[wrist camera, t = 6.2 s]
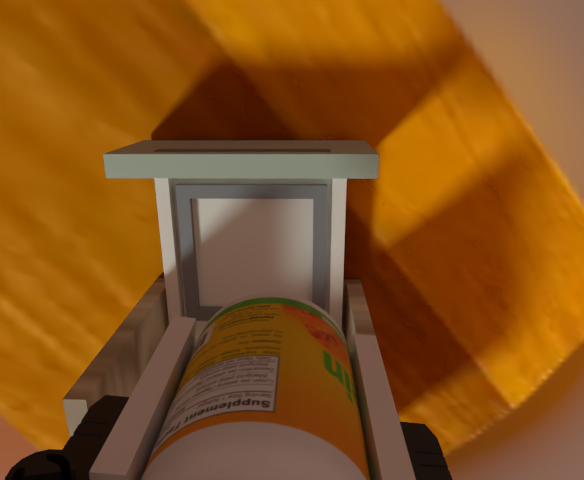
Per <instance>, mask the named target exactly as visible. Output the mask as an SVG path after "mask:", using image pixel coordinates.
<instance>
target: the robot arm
mask: <svg viewBox="0 0 584 480" xmlns="http://www.w3.org/2000/svg"><path fill="white" fill-rule="evenodd" d="M195 336H196V318H188V317H178V316H174V317H173V319H172V321H171V322H170V324H169V326H168V328H167V330H166V332H165V333H164V335H163V337H162V339H161V341H160V343H159V344H158V346H157V348H156V350H155V352H154V354H153V355H152V357H151V359H150V361H149V363H148V365H147V366H146V368H145V370H144V372H143V374H142V376H141V377H140V379H139V381H138V383H137V385H136V387H135V389H134V390H133V392H132V394H131V396H130V397H123V396H112V395H105V396H104V397H102V398H101V399H100V400H98V401H97V402H96V403H94V404H93V405H92V406H90V408H89V409H88V411H87V413H86V414H85V416H84V417H83V419H82V420H81V423H80V424H79V425H78V426H77V428H76V429H75V431H74V433H73V436H71V437H70V439H69V440H68V442H67V443H66V445H65V446H64V448H63V450H51V449H49V450H44V451H40V452H36V453H34V454H32V455H29V456H28V457H25V458H23V459H22V460H20V461H19V462H18V463H17V464H16V465H15V466H13V467H12V468H11V470H10V471H9V473H8V475H7V476H6V477H5V480H141V478H142V475H143V473H144V470H145V468H146V466H147V464H148V461H149V459H150V456H151V454H152V451H153V449H154V446H155V444H156V441H157V439H158V436H159V434H160V431H161V429H162V426H163V424H164V422H165V419H166V416H167V414H168V411H169V408H170V406H171V404H172V402H173V399H174V397H175V395H176V392H177V390H178V387H179V385H180V382H181V380H182V377H183V375H184V372H185V370H186V368H187V365H188V362H189V360H190V358H191V355H192V352H193V350H194V348H195ZM350 357H351V363H352V369H353V375H354V381H355V387H356V393H357V399H358V405H359V411H360V417H361V423H362V430H363V436H364V441H365V447H366V453H367V458H368V464H369V470H370V476H371V480H452V477H451V475H450V472H449V470H448V467H447V464H446V461H445V458H444V457H443V453H442V450H441V447H440V445H439V442H438V439H437V438H436V436H435V435H434V434H433V433H432V432H431V431H430V430H429V428H428V427H427V426H426V425H425V424H418V423H408V422H400V421H399V418H398V414H397V410H396V407H395V403H394V400H393V396H392V392H391V389H390V385H389V382H388V378H387V374H386V371H385V367H384V364H383V360H382V357H381V353H380V349H379V346H378V342H377V339H376V336H373V335H363V334H354V335H353V341H352V347H351V354H350Z"/></svg>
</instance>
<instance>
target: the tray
mask: <svg viewBox="0 0 584 480" xmlns="http://www.w3.org/2000/svg"><path fill="white" fill-rule="evenodd" d="M103 159H104V166H105V174H106V178H154V179H155V189H156V199H157V209H158V219H159V229H160V238H161V248H162V258H163V268H164V278H165V288H166V298H167V308H168V317H169V324H170V322H171V321H172V319H173V317H174V316H178V317H188V318H196V336H195V345H196V343H197V341H198V339H199V337H200V335H201V333H202V331H203V329H204V327H205V326H206V324H207V323H208V322H209V320H210V319H211V318H212V317H213V316H214V315H215V314H216V313H217V312H218V311H219V310H220V309H222V308H223V307H224V306H226V305H227V304H229V303H231V302H232V301H234V300H237V299H239V298H241V297H244V296H247V295H252V294H257V293H265V292H279V293H287V294H291V295H295V296H298V297H301V298H304V299H306V300H308V301H310V302H312V303H314V304H316V305H317V306H319V307H320V308H322V309H323V310H324V311H325V312H327V313H328V314H329V315H330V316H331V317H332V318H333V319H334V321H335V322H336V323H337V325H338V326H339V328H340V329H341V331H342V304H343V275H344V245H345V216H346V187H347V179H378V164H379V154H378V153H377V152H376V151H375V150H374V149H373V148H372V147H371V146H370V145H369V144H368V143H367V142H366V141H365V140H143V141H140V142H137V143H134V144H131V145H128V146H126V147H123V148H120V149H117V150H114V151H111V152H108V153H105V154H103Z"/></svg>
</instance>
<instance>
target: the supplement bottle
mask: <svg viewBox="0 0 584 480" xmlns="http://www.w3.org/2000/svg"><path fill="white" fill-rule="evenodd" d="M141 480H371V476H370V470H369V464H368V458H367V453H366V447H365V441H364V436H363V430H362V423H361V417H360V411H359V405H358V399H357V393H356V387H355V381H354V375H353V369H352V363H351V357H350V353H349V348H348V345H347V342H346V339H345V336H344V334H343V332H342V331H341V329H340V328H339V326H338V325H337V323H336V322H335V321H334V319H333V318H332V317H331V316H330V315H329V314H328V313H327V312H325V311H324V310H323V309H322V308H320V307H319V306H317V305H316V304H314V303H312V302H310V301H308V300H306V299H304V298H301V297H298V296H295V295H291V294H287V293H279V292H265V293H257V294H252V295H247V296H244V297H241V298H239V299H237V300H234V301H232V302H231V303H229V304H227V305H226V306H224V307H223V308H222V309H220V310H219V311H218V312H217V313H216V314H215V315H214V316H213V317H212V318H211V319H210V320H209V322H208V323H207V324H206V326H205V327H204V329H203V331H202V333H201V335H200V337H199V339H198V341H197V343H196V345H195V348H194V350H193V352H192V355H191V358H190V360H189V362H188V365H187V368H186V370H185V372H184V375H183V377H182V380H181V382H180V385H179V387H178V390H177V392H176V395H175V397H174V399H173V402H172V404H171V406H170V408H169V411H168V414H167V416H166V419H165V422H164V424H163V426H162V429H161V431H160V434H159V436H158V439H157V441H156V444H155V446H154V449H153V451H152V454H151V456H150V459H149V461H148V464H147V466H146V468H145V470H144V473H143V475H142V478H141Z"/></svg>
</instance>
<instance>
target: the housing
mask: <svg viewBox="0 0 584 480" xmlns="http://www.w3.org/2000/svg"><path fill="white" fill-rule="evenodd" d="M168 326H169V317H168V308H167V298H166V288H165V278H157V279H156V280H155V282H154V283H153V284H152V285H151V287H150V288H149V289H148V291H147V292H146V293H145V294H144V296H143V297H142V298H141V300H140V301H139V302H138V303H137V305H136V306H135V307H134V308H133V310H132V311H131V312H130V314H129V315H128V316H127V317H126V319H125V320H124V321H123V323H122V324H121V325H120V326H119V328H118V329H117V330H116V332H115V333H114V334H113V335H112V337H111V338H110V339H109V341H108V342H107V343H106V344H105V346H104V347H103V348H102V349H101V351H100V352H99V353H98V355H97V356H96V357H95V358H94V360H93V361H92V362H91V364H90V365H89V366H88V367H87V369H86V370H85V371H84V373H83V374H82V375H81V376H80V378H79V379H78V380H77V382H76V383H75V384H74V385H73V387H72V388H71V389H70V391H69V392H68V393H67V394H66V396H65V397H64V398H63V404H64V409H65V414H66V419H67V424H68V429H69V434H70V437H71V436H73V433H74V431H75V429H76V428H77V426H78V425H79V424H80V423H81V420H82V419H83V417H84V416H85V414H86V413H87V411H88V409H89V408H90V406H92V405H93V404H94V403H96V402H97V401H98V400H100V399H101V398H102V397H104V396H105V395H112V396H123V397H130V396H131V394H132V392H133V390H134V389H135V387H136V385H137V383H138V381H139V379H140V377H141V376H142V374H143V372H144V370H145V368H146V366H147V365H148V363H149V361H150V359H151V357H152V355H153V354H154V352H155V350H156V348H157V346H158V344H159V343H160V341H161V339H162V337H163V335H164V333H165V332H166V330H167V328H168ZM342 332H343V334H344V336H345V339H346V342H347V345H348V348H349V353H350V354H351V347H352V341H353V335H354V334H363V335H373V336H376V335H375V331H374V327H373V324H372V320H371V316H370V313H369V309H368V305H367V302H366V298H365V294H364V291H363V287H362V283H361V280H360V279H343V304H342ZM376 339H377V338H376Z"/></svg>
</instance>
